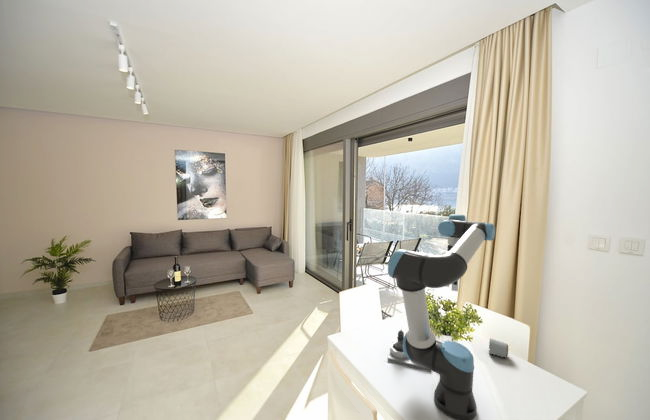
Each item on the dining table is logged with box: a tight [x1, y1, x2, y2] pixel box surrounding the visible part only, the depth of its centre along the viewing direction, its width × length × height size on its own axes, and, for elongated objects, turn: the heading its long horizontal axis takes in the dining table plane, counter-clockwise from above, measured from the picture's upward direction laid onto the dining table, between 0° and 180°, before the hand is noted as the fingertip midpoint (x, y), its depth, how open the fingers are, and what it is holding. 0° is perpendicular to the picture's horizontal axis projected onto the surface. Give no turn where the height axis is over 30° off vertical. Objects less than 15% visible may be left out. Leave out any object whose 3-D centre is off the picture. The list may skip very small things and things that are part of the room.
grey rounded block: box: [488, 337, 509, 359], centre depth 139 cm, size 11×8×8 cm
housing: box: [387, 341, 432, 373], centre depth 135 cm, size 15×20×4 cm
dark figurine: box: [394, 329, 405, 352], centre depth 137 cm, size 6×6×12 cm
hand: (453, 286), depth 135 cm, fingers open, 13 cm apart
